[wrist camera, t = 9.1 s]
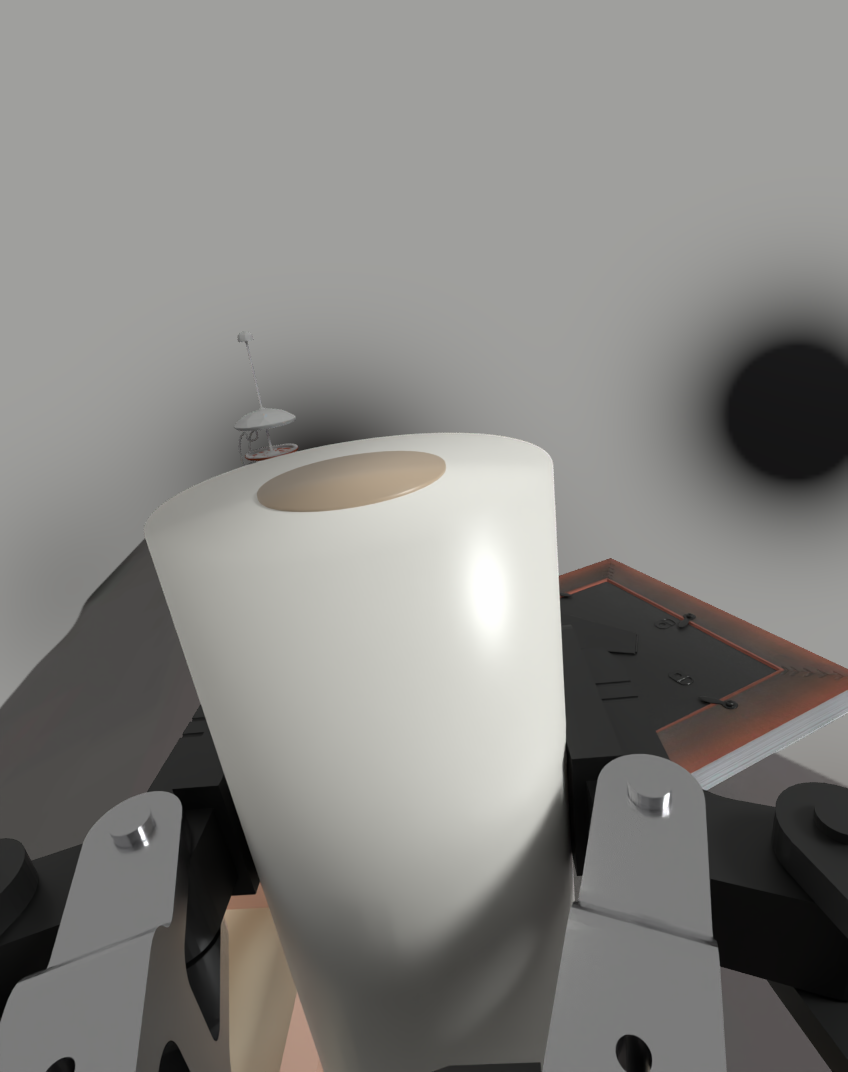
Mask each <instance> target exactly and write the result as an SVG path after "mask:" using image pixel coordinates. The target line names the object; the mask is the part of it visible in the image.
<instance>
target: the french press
mask: <svg viewBox="0 0 848 1072" xmlns="http://www.w3.org/2000/svg"><path fill="white" fill-rule="evenodd" d="M250 340H254V339H253V336H252V335H251V334H250V333H249V332H241V333H239V335H238V342H243V341H245V343H246V347H247V351H248V355H249V360H250V364H251V368H252V372H253V377H254V381H255V385H256V390H257V393H258V398H259V402H260V407H261V408H259V409H258V410H257V411H254V412H251V413H249V414H246V415H245V416H244V417H242V418H241V419H239V421H238V422H237V423H236V424H235V425H234V428H235V429H237V430H240V431H252V432H251V433H250V436H249V439H248V436H247V434H246V432H243V433H242V434H241V436H240V439H239V453H240V457H241V461H242V464H243V466H245V464H244V462H243V458H242V455H241V448H240V447H241V446H240V445H241V443H240V442H241V439H242V436H243V435H244V434H245V435H246V439H247V440H248V441H249V451H250V452H248V453H247V454H246V455H245V458H246V459H248V460H251V461H253V462H252V463H249V464H253V463H256V461H263V460H266V459H270V458H274V457H277V456H281V455H285V454H289V453H293V452H295V451H297V450H298V446H297V445H295V444H290V445H289V444H284V445H279V446H278V445H277V446H276V445H275V446H271V442H270V437H269V433H268V429H269V428H274V427H278V426H282V425H286V424H288V423H291V422H293V421H294V420H295V418H296V417H295V415H293V414H291V413H289V412H287V411H284V410H280V409H266V408H263V407H262V403H261V399H260V394H259V390H258V386H257V382H256V378H255V373H254V368H253V364H252V360H251V356H250V351H249V347H248V343H247V342H248V341H250ZM263 429H266V433H267V437H268V441H269V445H270V447H269V446H268V447H265V448H264V447H263V448H262V449H261V448H259V449H256V450H252V451H253V452H252V451H251V447H250V443H251V442H252V441H255V440H257V439H258V433H257V430H263ZM254 431H255V432H256V435H257V437H256V438H255V439H252V440H251V435H252V433H253V432H254ZM249 464H248V465H249Z"/></svg>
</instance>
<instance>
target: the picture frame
mask: <svg viewBox="0 0 848 1072" xmlns="http://www.w3.org/2000/svg"><path fill="white" fill-rule="evenodd" d="M559 594H560V615H561V625H572V627H573V629H574V632H575V634H576V637H577V639H578V642H579V644H580V647H581V649H590V648H601V647H603V648H604V649H605V650H606V651H608V652H609V653H610V654H612V655H613V656H614V657H615V658H617V659H618V660H619V661H621V662H622V664H623V666H624V668H625V670H626V672H627V674H628V676H629V678H630V681H631V684H633V686H634V688H635V690H636V692H637V694H638V698H639V700H641V702H642V705H643V707H644V709H645V711H646V713H647V715H648V717H649V719H650V721H651V723H652V725H653V727H654V729H655V731H656V733H657V735H658V737H659V739H660V741H661V743H662V745H663V747H664V749H665V751H666V753H667V755H668V757H669V759H670V760H671V761H672V762H674V763H676V764H678V765H680V766H681V767H683V768H684V769H686V770H687V771H688V772H689V773H691V774H692V776H693V777H694V778H695V779H696V780H697V781H698V783H699V784H700V786H701V788H702V789H704V790H708V789H709V788H711V787H713V786H715V785H717V784H718V783H720V782H722V781H724V780H726V779H727V778H729V777H731V776H733V775H735V774H736V773H738V772H740V771H742V770H744V769H745V768H747V767H749V766H751V765H753V764H754V763H756V762H758V761H760V760H762V759H763V758H765V757H767V756H769V755H771V754H772V753H774V752H775V753H778V752H780V751H781V750H783V749H785V748H787V747H789V746H790V745H792V744H794V743H796V742H798V741H799V740H801V739H803V738H805V737H806V736H808V735H810V734H812V733H814V732H815V731H817V730H819V729H821V728H823V727H825V726H826V725H828V724H830V723H832V722H833V721H835V720H837V719H839V718H841V717H843V716H844V715H846V714H847V713H848V669H846V668H844V667H842V666H840V665H838V664H836V663H833V662H831V661H829V660H827V659H825V658H823V657H821V656H819V655H816V654H814V653H812V652H810V651H808V650H806V649H804V648H801V647H799V646H797V645H795V644H793V643H791V642H789V641H787V640H784V639H782V638H780V637H778V636H776V635H774V634H771V633H769V632H767V631H765V630H763V629H761V628H759V627H757V626H754V625H752V624H750V623H748V622H746V621H744V620H742V619H739V618H737V617H735V616H733V615H731V614H729V613H727V612H725V611H723V610H720V609H718V608H716V607H714V606H712V605H710V604H708V603H705V602H703V601H701V600H699V599H697V598H695V597H693V596H690V595H688V594H686V593H684V592H682V591H680V590H678V589H676V588H673V587H671V586H669V585H667V584H665V583H663V582H661V581H658V580H656V579H654V578H652V577H650V576H648V575H646V574H643V573H641V572H639V571H637V570H635V569H633V568H630V567H628V566H626V565H624V564H622V563H620V562H618V561H616V560H614V559H611V558H610V559H607V560H604V561H601V562H598V563H595V564H592V565H590V566H587V567H584V568H581V569H578V570H575V571H572V572H569V573H566V574H563V575H560V576H559Z"/></svg>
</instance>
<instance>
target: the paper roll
mask: <svg viewBox="0 0 848 1072" xmlns="http://www.w3.org/2000/svg"><path fill="white" fill-rule="evenodd" d="M554 495H555V494H554V473H553V462H552V459H551V457H550V455H549V454H548V453H547V452H546V451H544V450H543V449H542V448H540V447H538V446H536V445H534V444H532V443H529V442H526V441H523V440H519V439H515V438H510V437H504V436H498V435H489V434H476V433H425V434H408V435H397V436H387V437H378V438H371V439H363V440H356V441H350V442H343V443H337V444H332V445H326V446H321V447H316V448H311V449H307V450H302V451H298V452H293V453H289V454H285V455H281V456H277V457H274V458H270V459H266V460H263V461H259V462H256V463H253V464H249V465H246V466H243V467H240V468H237V469H234V470H232V471H229V472H226V473H223V474H220V475H218V476H215V477H213V478H210V479H208V480H205V481H203V482H201V483H199V484H197V485H194V486H192V487H190V488H188V489H187V490H184V491H183V492H181V493H179V494H177V495H175V496H174V497H172V498H171V499H169V500H168V501H166V502H165V503H164V504H162V505H161V506H160V507H158V508H157V509H156V510H155V511H154V512H153V513H152V514H151V515H150V516H149V518H148V519H147V521H146V523H145V525H144V535H145V539H146V542H147V545H148V548H149V551H150V554H151V557H152V560H153V562H154V565H155V568H156V571H157V574H158V577H159V580H160V583H161V586H162V589H163V592H164V595H165V598H166V601H167V604H168V607H169V610H170V613H171V616H172V619H173V622H174V625H175V628H176V631H177V634H178V637H179V640H180V643H181V646H182V649H183V652H184V655H185V658H186V661H187V664H188V667H189V670H190V673H191V676H192V679H193V682H194V685H195V688H196V691H197V694H198V697H199V700H200V703H201V706H202V709H203V712H204V715H205V718H206V721H207V724H208V727H209V730H210V733H211V736H212V739H213V742H214V745H215V748H216V751H217V754H218V757H219V760H220V763H221V766H222V769H223V772H224V775H225V778H226V781H227V784H228V787H229V790H230V793H231V796H232V799H233V802H234V805H235V808H236V811H237V814H238V817H239V820H240V823H241V826H242V829H243V832H244V835H245V838H246V841H247V844H248V847H249V849H250V852H251V855H252V858H253V861H254V864H255V867H256V870H257V873H258V876H259V879H260V882H261V885H262V888H263V891H264V894H265V897H266V900H267V903H268V906H269V909H270V912H271V915H272V918H273V921H274V924H275V927H276V930H277V933H278V936H279V939H280V942H281V945H282V948H283V951H284V954H285V957H286V960H287V963H288V966H289V969H290V972H291V975H292V978H293V981H294V984H295V987H296V990H297V993H298V996H299V999H300V1002H301V1005H302V1008H303V1011H304V1014H305V1017H306V1020H307V1023H308V1026H309V1029H310V1032H311V1035H312V1038H313V1041H314V1044H315V1047H316V1050H317V1053H318V1056H319V1059H320V1062H321V1065H322V1068H323V1071H324V1072H433V1071H435V1070H438V1069H441V1068H443V1067H446V1066H451V1065H478V1064H505V1063H533V1062H540V1063H541V1071H542V1070H543V1064H544V1058H545V1052H546V1046H547V1040H548V1034H549V1028H550V1022H551V1017H552V1011H553V1005H554V999H555V993H556V987H557V981H558V975H559V969H560V963H561V957H562V951H563V945H564V939H565V933H566V928H567V922H568V917H569V912H570V909H571V906H572V903H573V902H574V901H575V898H574V878H573V857H572V852H571V832H570V812H569V792H568V772H567V752H566V716H565V696H564V675H563V655H562V635H561V615H560V594H559V575H558V554H557V535H556V514H555V496H554Z"/></svg>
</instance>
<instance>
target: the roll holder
mask: <svg viewBox="0 0 848 1072" xmlns="http://www.w3.org/2000/svg"><path fill="white" fill-rule="evenodd" d="M224 917H225V920H226V923H227V926H228V931H229V1050H230V1064H231V1071H232V1072H324V1071H323V1068H322V1065H321V1062H320V1059H319V1056H318V1053H317V1050H316V1047H315V1044H314V1041H313V1038H312V1035H311V1032H310V1029H309V1026H308V1023H307V1020H306V1017H305V1014H304V1011H303V1008H302V1005H301V1002H300V999H299V996H298V993H297V990H296V987H295V984H294V981H293V978H292V975H291V972H290V969H289V966H288V963H287V960H286V957H285V954H284V951H283V948H282V945H281V942H280V939H279V936H278V933H277V930H276V927H275V924H274V921H273V918H272V915H271V912H270V909H269V906H268V903H267V900H266V897H265V894H264V891H263V888H262V885H261V882H260V883H259V886H258V889H257V893H256V894H255V895H239V896H231V898H230V901H229V904H228V906H227V909H226V912H225V915H224Z"/></svg>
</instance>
